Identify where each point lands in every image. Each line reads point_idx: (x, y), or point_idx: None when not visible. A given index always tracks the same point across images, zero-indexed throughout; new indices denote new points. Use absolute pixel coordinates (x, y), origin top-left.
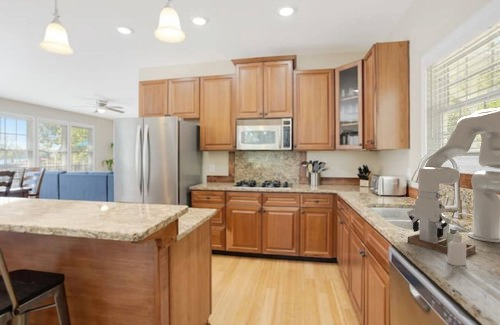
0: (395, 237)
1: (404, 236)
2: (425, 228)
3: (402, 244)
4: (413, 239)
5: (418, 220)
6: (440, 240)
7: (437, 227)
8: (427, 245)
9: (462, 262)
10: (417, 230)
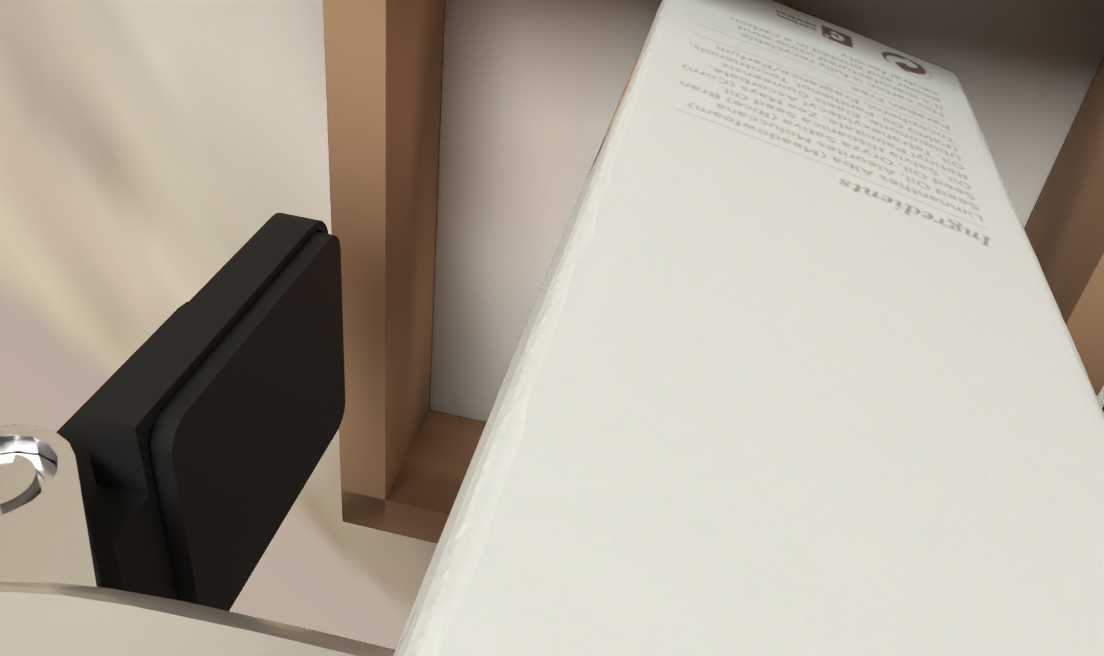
0: (69, 286)
1: (82, 39)
2: None
3: (404, 585)
4: None
5: (89, 533)
6: (1084, 318)
7: (1083, 438)
8: None
9: None
10: (333, 306)
